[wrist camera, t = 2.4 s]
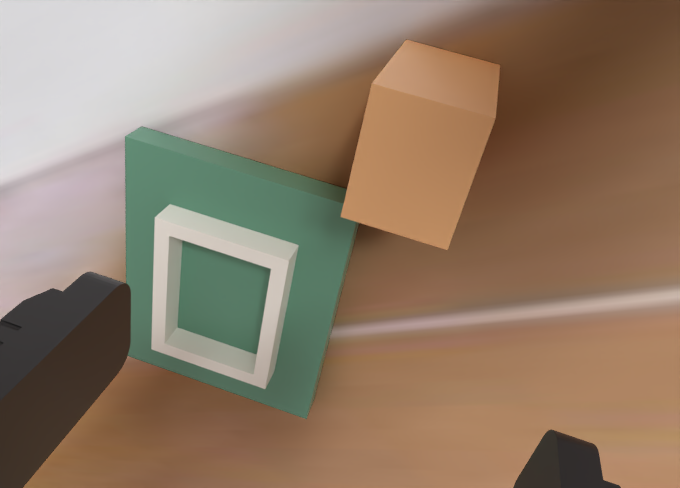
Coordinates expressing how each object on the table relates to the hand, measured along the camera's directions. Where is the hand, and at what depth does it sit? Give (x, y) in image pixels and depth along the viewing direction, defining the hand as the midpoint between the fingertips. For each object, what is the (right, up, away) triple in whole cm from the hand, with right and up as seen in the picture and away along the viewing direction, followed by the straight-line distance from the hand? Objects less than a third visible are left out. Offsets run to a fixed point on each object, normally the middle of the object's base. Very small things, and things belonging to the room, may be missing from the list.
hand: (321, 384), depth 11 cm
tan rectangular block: (+5, +8, +14) cm, 17 cm away
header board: (-6, +1, +22) cm, 23 cm away
